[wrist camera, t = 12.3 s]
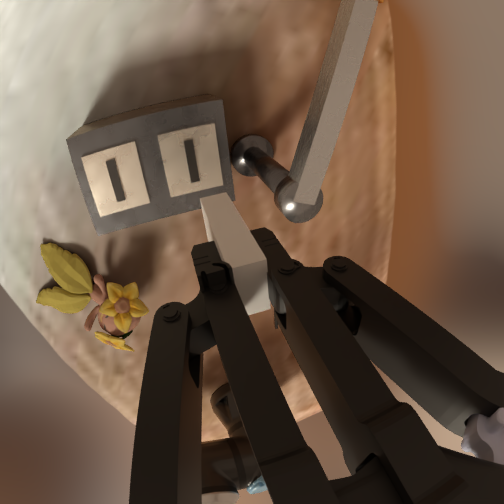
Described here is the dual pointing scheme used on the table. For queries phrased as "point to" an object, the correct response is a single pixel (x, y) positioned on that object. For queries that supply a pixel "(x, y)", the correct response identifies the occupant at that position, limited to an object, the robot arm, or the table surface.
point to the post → (257, 160)
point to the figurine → (91, 296)
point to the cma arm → (326, 111)
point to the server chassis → (152, 161)
